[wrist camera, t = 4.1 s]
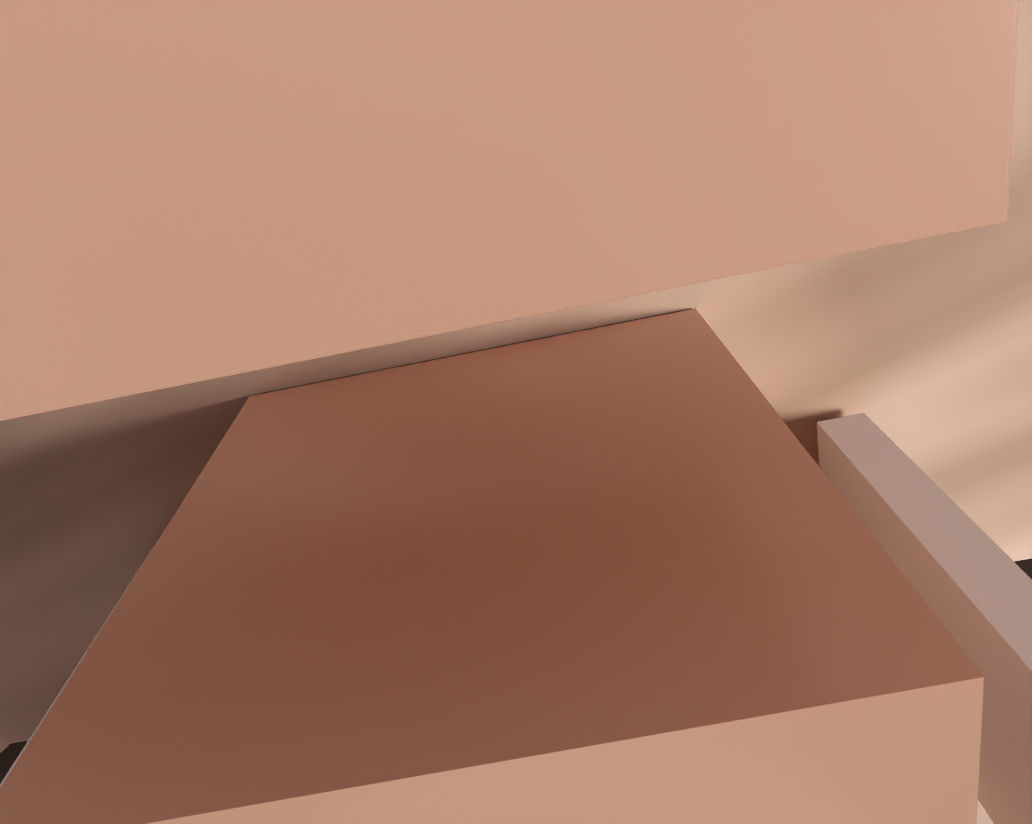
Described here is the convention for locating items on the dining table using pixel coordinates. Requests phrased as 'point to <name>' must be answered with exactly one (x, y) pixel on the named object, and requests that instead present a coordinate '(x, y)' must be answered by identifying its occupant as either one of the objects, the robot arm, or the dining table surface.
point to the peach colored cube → (453, 165)
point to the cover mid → (515, 616)
